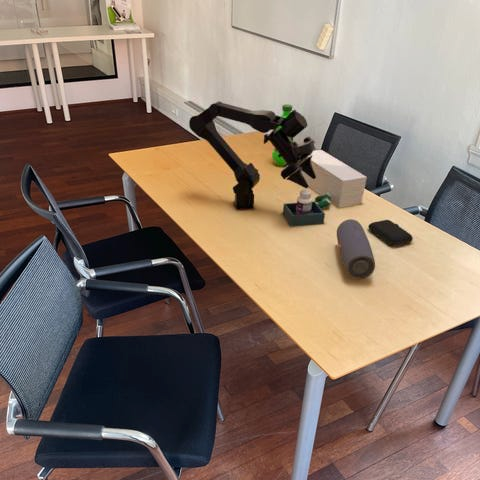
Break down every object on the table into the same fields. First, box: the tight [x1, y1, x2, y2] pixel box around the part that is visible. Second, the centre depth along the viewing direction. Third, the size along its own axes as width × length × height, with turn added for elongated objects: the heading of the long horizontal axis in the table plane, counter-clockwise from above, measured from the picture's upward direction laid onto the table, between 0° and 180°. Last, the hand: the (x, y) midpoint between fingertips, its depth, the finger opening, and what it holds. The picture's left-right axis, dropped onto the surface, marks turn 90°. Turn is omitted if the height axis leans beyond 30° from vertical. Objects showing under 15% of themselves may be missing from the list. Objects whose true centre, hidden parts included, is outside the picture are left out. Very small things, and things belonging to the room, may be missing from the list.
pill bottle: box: [295, 189, 313, 215], centre depth 167 cm, size 5×5×10 cm
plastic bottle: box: [271, 103, 294, 167], centre depth 205 cm, size 10×10×25 cm
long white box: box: [302, 149, 368, 209], centre depth 188 cm, size 32×11×11 cm, turn 25°
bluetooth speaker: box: [336, 218, 376, 280], centre depth 144 cm, size 23×9×10 cm, turn 178°
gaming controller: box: [314, 193, 332, 210], centre depth 179 cm, size 9×4×6 cm
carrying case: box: [367, 219, 414, 247], centre depth 161 cm, size 11×3×15 cm
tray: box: [282, 200, 326, 227], centre depth 169 cm, size 12×10×4 cm
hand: (311, 182), depth 162 cm, fingers open, 9 cm apart
